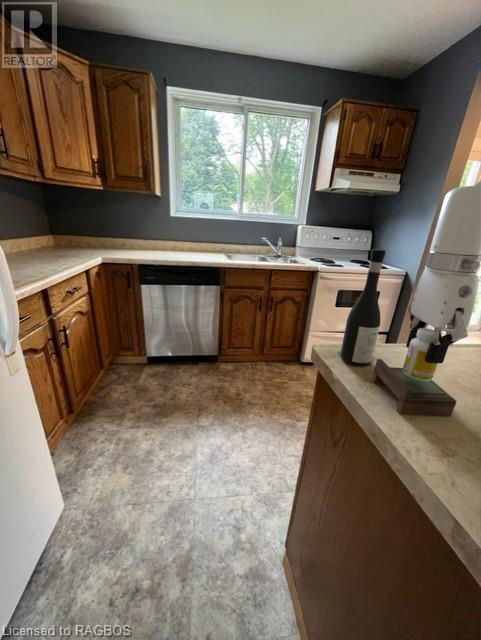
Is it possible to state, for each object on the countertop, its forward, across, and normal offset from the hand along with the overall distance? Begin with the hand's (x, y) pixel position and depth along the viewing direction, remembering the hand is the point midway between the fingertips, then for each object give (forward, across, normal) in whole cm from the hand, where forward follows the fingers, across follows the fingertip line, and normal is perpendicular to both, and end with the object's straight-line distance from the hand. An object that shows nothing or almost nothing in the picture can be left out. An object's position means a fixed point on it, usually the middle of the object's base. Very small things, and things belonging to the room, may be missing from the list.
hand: (423, 353), depth 54 cm
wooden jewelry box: (+12, 0, 0) cm, 12 cm away
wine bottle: (+12, +18, +4) cm, 22 cm away
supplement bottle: (+5, 0, 0) cm, 5 cm away
